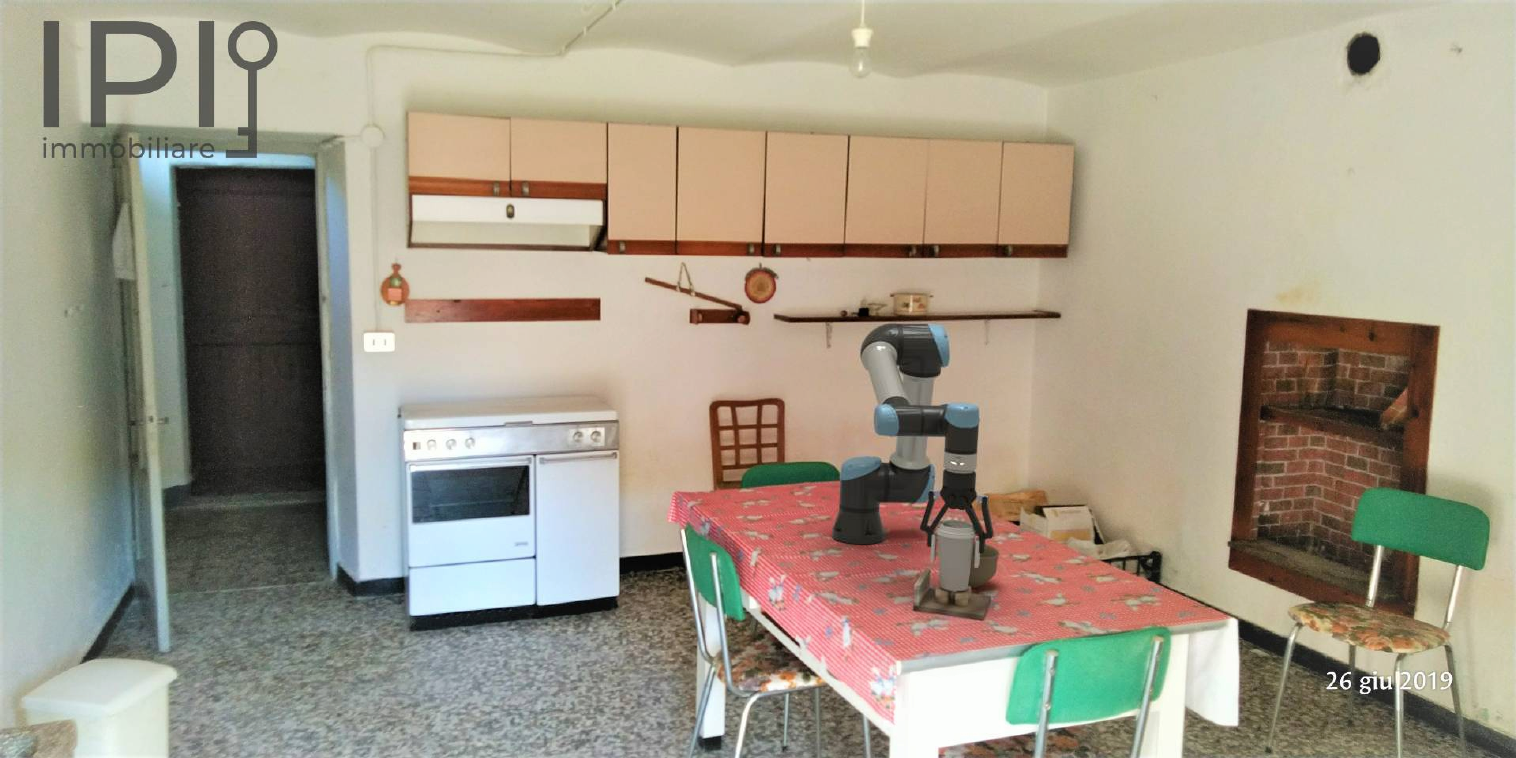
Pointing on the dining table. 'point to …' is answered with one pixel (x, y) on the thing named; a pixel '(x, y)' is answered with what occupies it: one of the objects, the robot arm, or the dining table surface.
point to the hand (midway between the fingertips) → (954, 563)
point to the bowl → (983, 566)
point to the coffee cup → (955, 553)
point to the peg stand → (948, 600)
